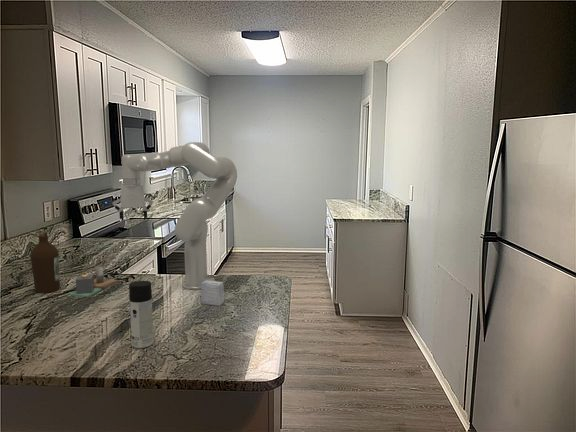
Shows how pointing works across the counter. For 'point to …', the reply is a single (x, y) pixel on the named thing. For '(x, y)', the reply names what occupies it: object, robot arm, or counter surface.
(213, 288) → the medicine box
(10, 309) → the counter surface
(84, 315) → the counter surface
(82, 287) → the gift box
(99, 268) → the post stand
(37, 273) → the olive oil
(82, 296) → the mat
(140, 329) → the spray can
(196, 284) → the robot arm
